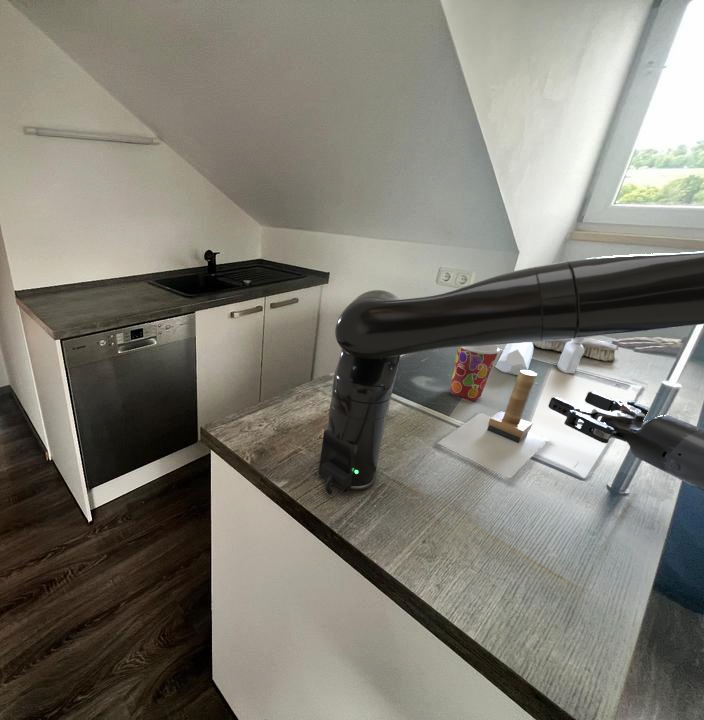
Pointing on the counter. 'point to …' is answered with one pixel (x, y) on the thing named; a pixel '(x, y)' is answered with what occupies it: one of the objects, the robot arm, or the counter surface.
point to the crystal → (515, 358)
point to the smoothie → (472, 370)
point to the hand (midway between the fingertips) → (569, 398)
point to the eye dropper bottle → (571, 356)
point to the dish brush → (515, 410)
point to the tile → (492, 446)
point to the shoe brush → (590, 346)
